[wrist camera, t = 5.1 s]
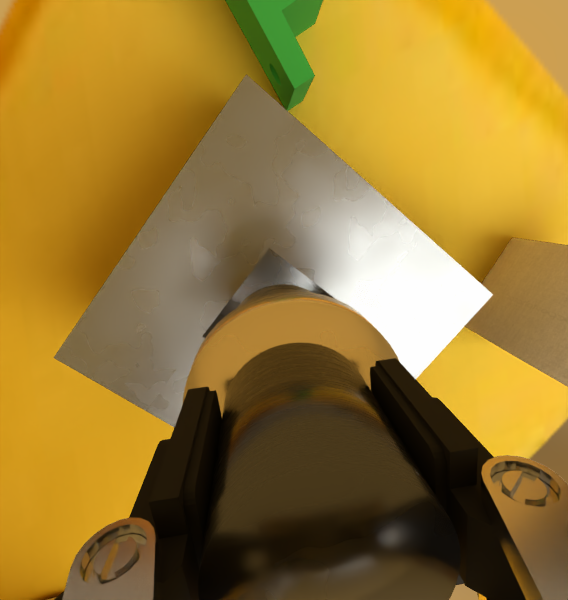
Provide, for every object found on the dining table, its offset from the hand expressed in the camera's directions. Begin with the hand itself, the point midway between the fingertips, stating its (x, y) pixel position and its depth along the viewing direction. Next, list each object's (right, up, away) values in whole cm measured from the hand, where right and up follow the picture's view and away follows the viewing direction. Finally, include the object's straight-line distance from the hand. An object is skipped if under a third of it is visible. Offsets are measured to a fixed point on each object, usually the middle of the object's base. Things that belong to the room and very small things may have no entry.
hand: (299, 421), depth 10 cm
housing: (-1, +4, +14) cm, 14 cm away
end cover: (-1, +2, +6) cm, 7 cm away
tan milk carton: (+15, +4, +15) cm, 22 cm away
